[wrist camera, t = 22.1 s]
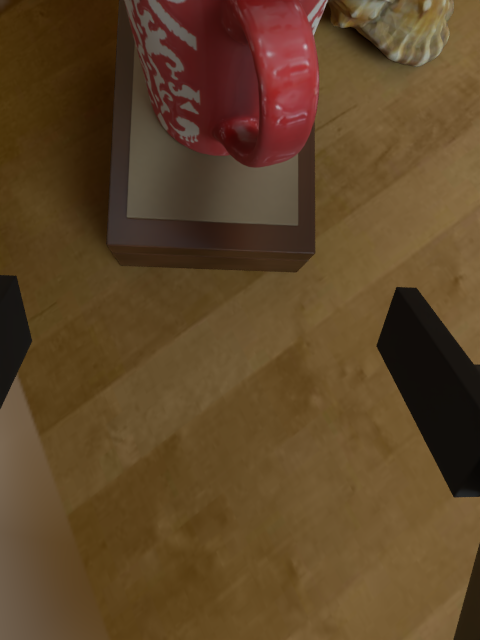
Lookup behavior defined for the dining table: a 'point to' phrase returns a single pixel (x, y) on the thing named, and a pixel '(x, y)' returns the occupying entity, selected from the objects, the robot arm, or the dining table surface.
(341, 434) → the dining table surface
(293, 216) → the brown rectangular block
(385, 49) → the seashell
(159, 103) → the mug
